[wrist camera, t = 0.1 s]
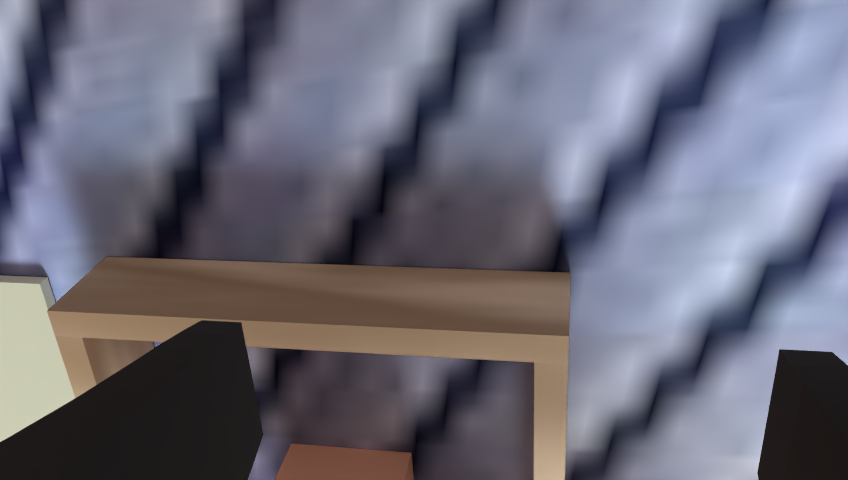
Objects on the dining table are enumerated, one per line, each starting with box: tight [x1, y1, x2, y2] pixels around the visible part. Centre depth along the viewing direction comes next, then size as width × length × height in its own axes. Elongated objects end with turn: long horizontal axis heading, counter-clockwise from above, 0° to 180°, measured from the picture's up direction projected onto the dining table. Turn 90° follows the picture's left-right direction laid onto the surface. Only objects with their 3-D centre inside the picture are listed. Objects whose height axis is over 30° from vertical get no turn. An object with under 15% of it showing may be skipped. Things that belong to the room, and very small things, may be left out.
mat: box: [0, 275, 75, 442], centre depth 28 cm, size 16×7×1 cm, turn 3°
